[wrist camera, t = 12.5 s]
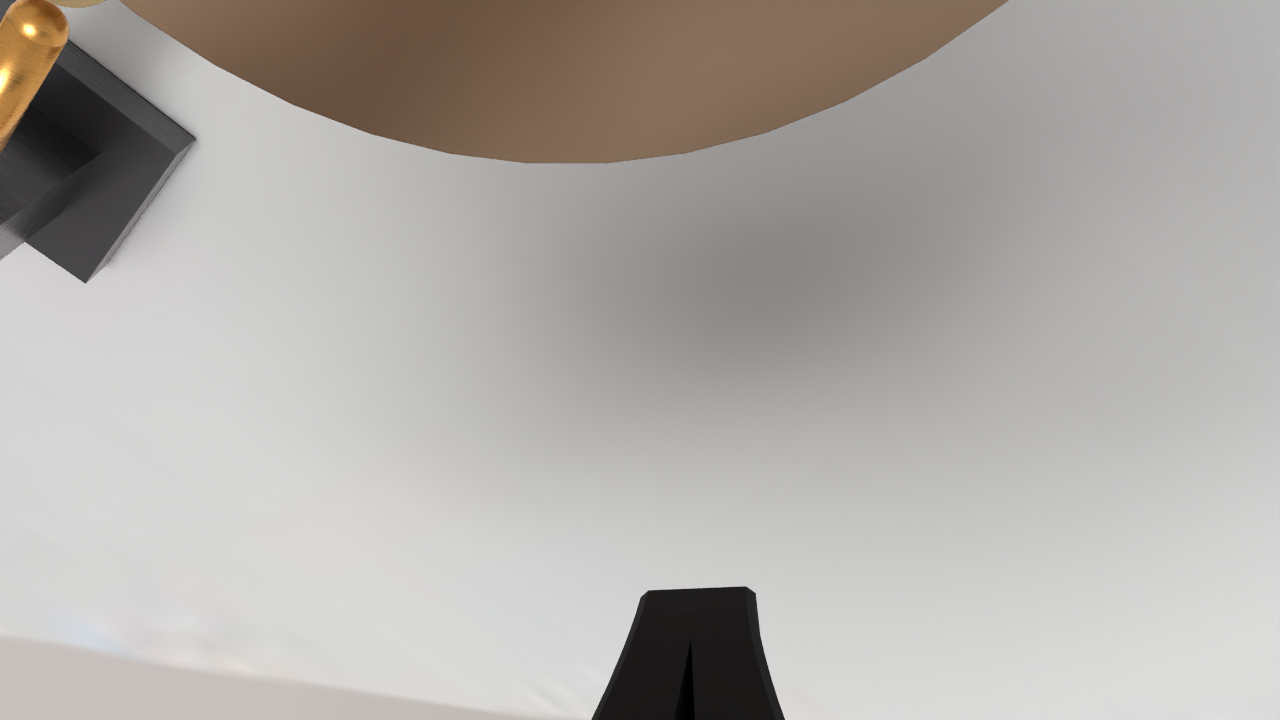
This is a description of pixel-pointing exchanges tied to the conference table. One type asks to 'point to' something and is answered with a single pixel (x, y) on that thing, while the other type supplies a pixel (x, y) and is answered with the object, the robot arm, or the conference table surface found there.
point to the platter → (563, 65)
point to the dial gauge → (72, 145)
